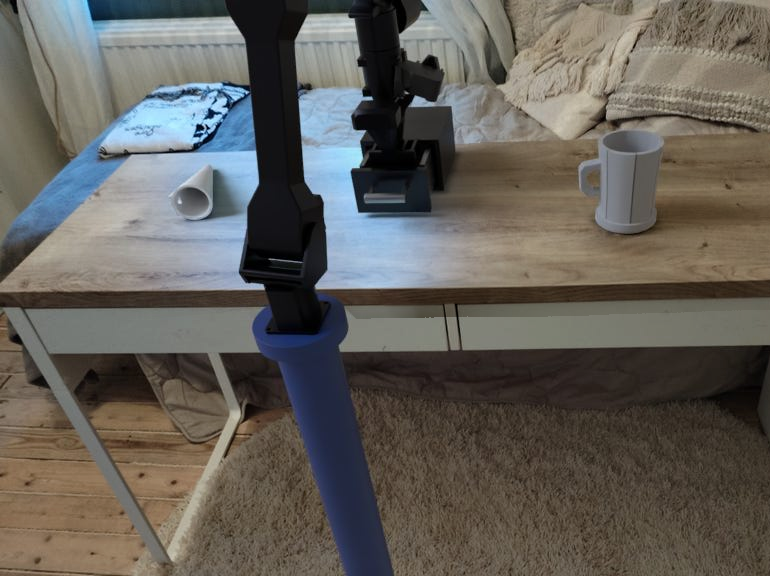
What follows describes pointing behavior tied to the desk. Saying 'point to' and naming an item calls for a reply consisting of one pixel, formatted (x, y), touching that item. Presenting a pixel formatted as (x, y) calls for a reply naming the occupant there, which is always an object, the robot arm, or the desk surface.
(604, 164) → the cup
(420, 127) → the black drawer box
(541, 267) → the desk surface
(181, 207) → the long cone
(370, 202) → the open drawer with handle
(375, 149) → the rack
